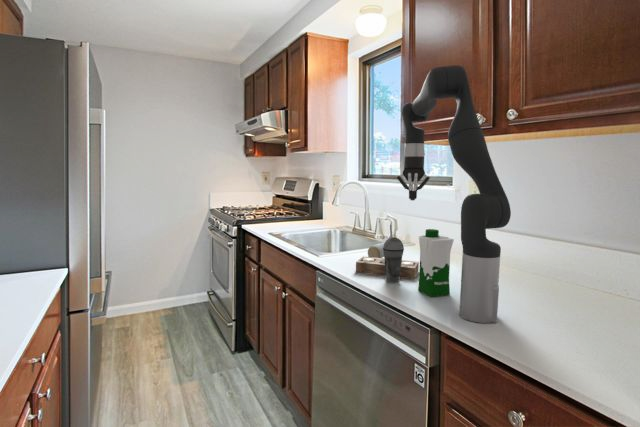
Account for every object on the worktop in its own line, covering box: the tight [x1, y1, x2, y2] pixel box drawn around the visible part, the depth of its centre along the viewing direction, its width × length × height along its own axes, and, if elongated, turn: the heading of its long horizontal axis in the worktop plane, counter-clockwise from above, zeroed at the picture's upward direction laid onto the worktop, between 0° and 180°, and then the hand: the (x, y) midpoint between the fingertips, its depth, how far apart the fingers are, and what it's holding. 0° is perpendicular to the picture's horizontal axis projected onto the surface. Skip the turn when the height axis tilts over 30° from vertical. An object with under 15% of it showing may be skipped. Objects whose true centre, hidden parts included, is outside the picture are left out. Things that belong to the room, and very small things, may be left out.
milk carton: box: [417, 228, 454, 298], centre depth 122 cm, size 9×9×20 cm
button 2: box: [401, 262, 413, 266], centre depth 144 cm, size 4×4×3 cm
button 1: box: [363, 258, 374, 262], centre depth 149 cm, size 4×4×3 cm
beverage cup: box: [383, 224, 405, 284], centre depth 134 cm, size 7×7×20 cm
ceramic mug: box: [367, 241, 385, 258], centre depth 162 cm, size 11×8×8 cm
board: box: [355, 255, 420, 280], centre depth 147 cm, size 22×10×4 cm, turn 68°
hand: (412, 200), depth 151 cm, fingers closed
